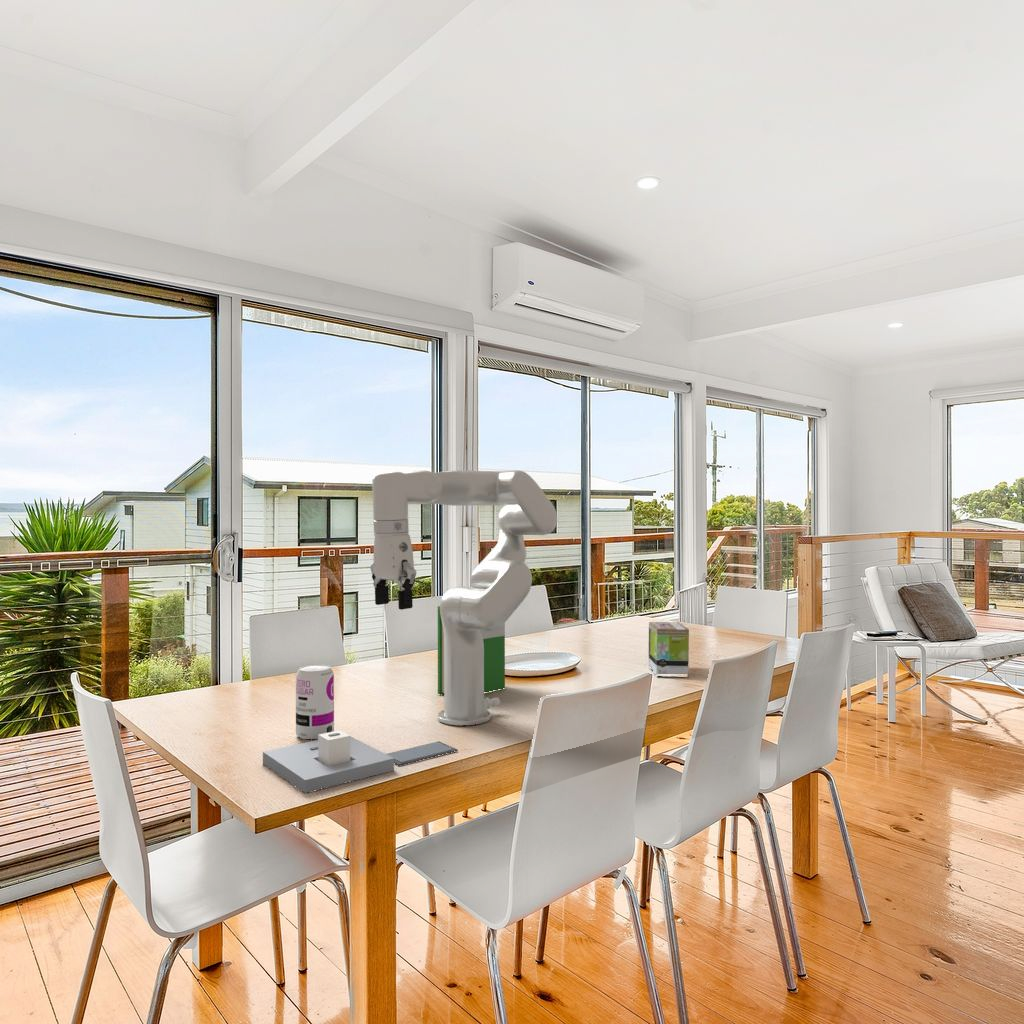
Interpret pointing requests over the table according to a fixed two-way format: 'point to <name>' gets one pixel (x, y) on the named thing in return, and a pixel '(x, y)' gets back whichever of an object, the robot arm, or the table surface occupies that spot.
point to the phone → (420, 753)
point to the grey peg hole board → (312, 775)
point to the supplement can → (314, 701)
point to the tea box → (668, 648)
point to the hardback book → (492, 657)
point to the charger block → (333, 748)
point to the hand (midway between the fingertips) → (393, 606)
